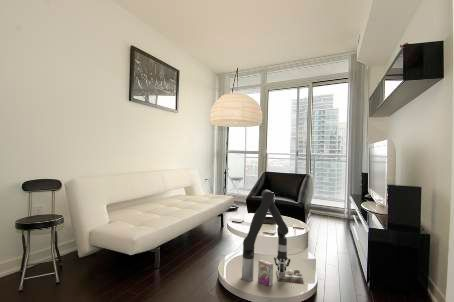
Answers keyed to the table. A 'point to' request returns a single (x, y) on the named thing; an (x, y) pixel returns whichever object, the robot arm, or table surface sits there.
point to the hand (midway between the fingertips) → (281, 270)
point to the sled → (281, 270)
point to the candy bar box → (265, 273)
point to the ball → (290, 272)
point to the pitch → (291, 277)
